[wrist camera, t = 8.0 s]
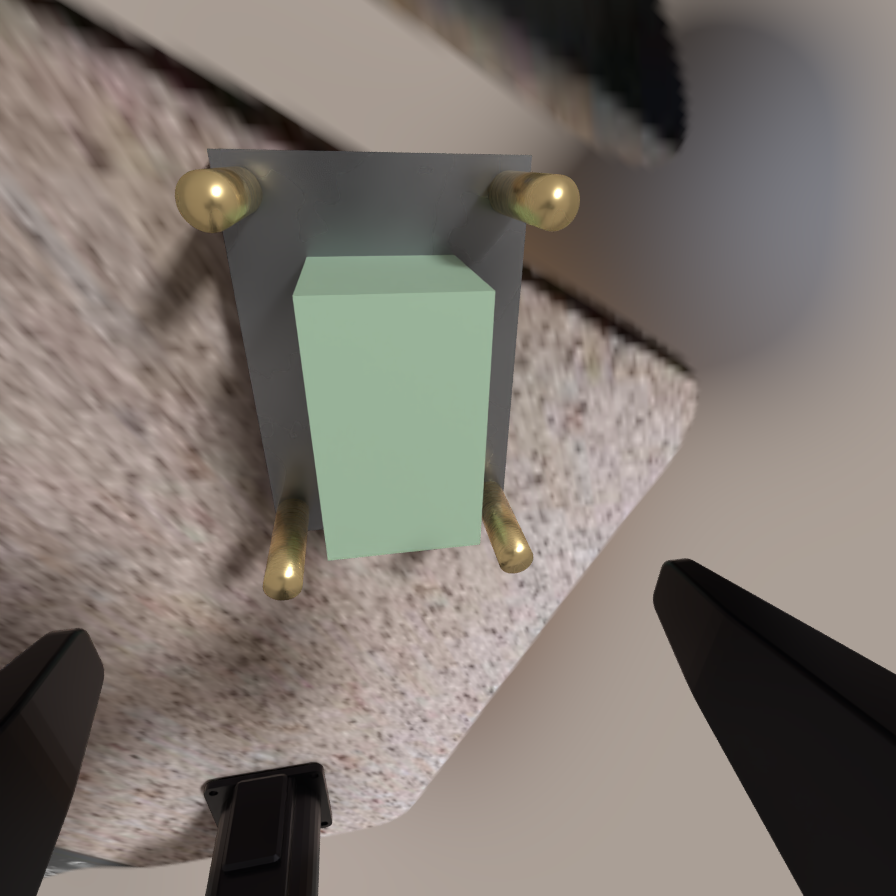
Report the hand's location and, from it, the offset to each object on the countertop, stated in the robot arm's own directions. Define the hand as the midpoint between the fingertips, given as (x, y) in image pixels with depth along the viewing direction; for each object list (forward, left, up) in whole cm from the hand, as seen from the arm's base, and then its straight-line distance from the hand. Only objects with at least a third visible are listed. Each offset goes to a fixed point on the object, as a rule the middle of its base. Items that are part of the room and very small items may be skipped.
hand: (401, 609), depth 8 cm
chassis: (0, -1, -12) cm, 12 cm away
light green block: (0, -1, -11) cm, 11 cm away
